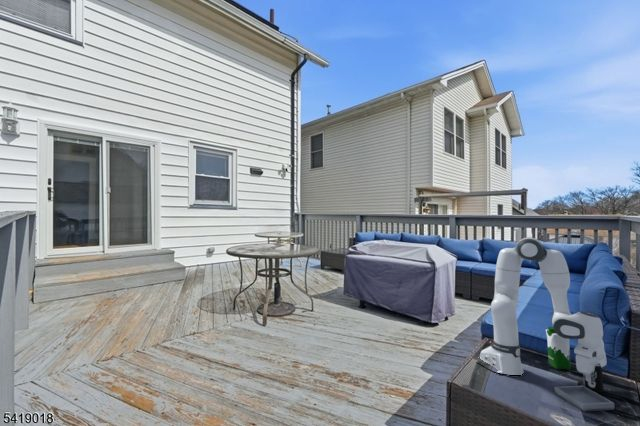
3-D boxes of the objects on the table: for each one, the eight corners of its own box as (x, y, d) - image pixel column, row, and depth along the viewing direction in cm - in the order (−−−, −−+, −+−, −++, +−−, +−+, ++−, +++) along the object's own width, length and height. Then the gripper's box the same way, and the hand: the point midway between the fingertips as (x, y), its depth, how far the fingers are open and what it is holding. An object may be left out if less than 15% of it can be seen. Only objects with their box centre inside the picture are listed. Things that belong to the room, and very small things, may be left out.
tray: (583, 411, 121) (582, 404, 121) (554, 392, 134) (554, 386, 134) (614, 409, 122) (614, 403, 122) (583, 391, 135) (583, 385, 135)
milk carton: (545, 362, 164) (543, 325, 165) (563, 362, 163) (561, 325, 164) (555, 369, 156) (553, 330, 157) (574, 370, 154) (572, 331, 155)
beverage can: (607, 394, 133) (605, 366, 133) (590, 392, 134) (588, 365, 135) (596, 386, 139) (595, 360, 140) (580, 385, 140) (579, 359, 141)
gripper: (592, 341, 145) (594, 370, 144) (572, 350, 136) (573, 381, 135) (610, 346, 139) (612, 376, 139) (589, 355, 130) (591, 387, 129)
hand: (593, 378), depth 137 cm, fingers open, 7 cm apart
